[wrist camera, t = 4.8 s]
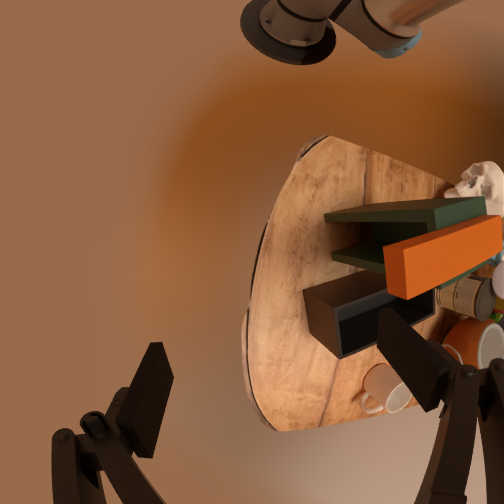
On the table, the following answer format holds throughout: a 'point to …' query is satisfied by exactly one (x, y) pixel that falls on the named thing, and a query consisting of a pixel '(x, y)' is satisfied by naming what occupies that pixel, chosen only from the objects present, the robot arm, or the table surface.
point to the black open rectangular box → (358, 311)
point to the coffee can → (469, 297)
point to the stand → (404, 227)
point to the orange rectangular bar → (440, 255)
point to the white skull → (482, 186)
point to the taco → (498, 309)
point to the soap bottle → (499, 280)
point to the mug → (385, 390)
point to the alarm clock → (475, 342)
